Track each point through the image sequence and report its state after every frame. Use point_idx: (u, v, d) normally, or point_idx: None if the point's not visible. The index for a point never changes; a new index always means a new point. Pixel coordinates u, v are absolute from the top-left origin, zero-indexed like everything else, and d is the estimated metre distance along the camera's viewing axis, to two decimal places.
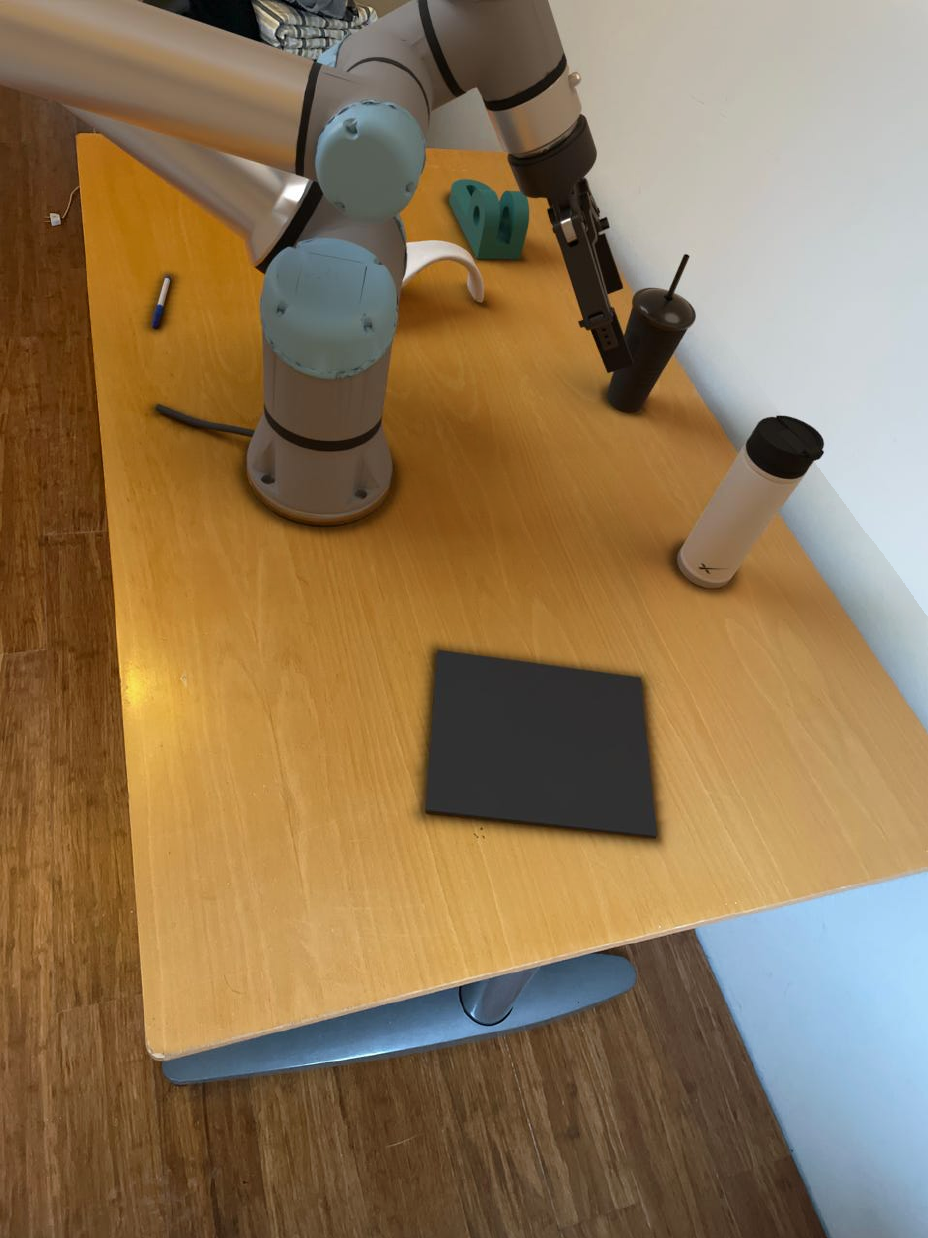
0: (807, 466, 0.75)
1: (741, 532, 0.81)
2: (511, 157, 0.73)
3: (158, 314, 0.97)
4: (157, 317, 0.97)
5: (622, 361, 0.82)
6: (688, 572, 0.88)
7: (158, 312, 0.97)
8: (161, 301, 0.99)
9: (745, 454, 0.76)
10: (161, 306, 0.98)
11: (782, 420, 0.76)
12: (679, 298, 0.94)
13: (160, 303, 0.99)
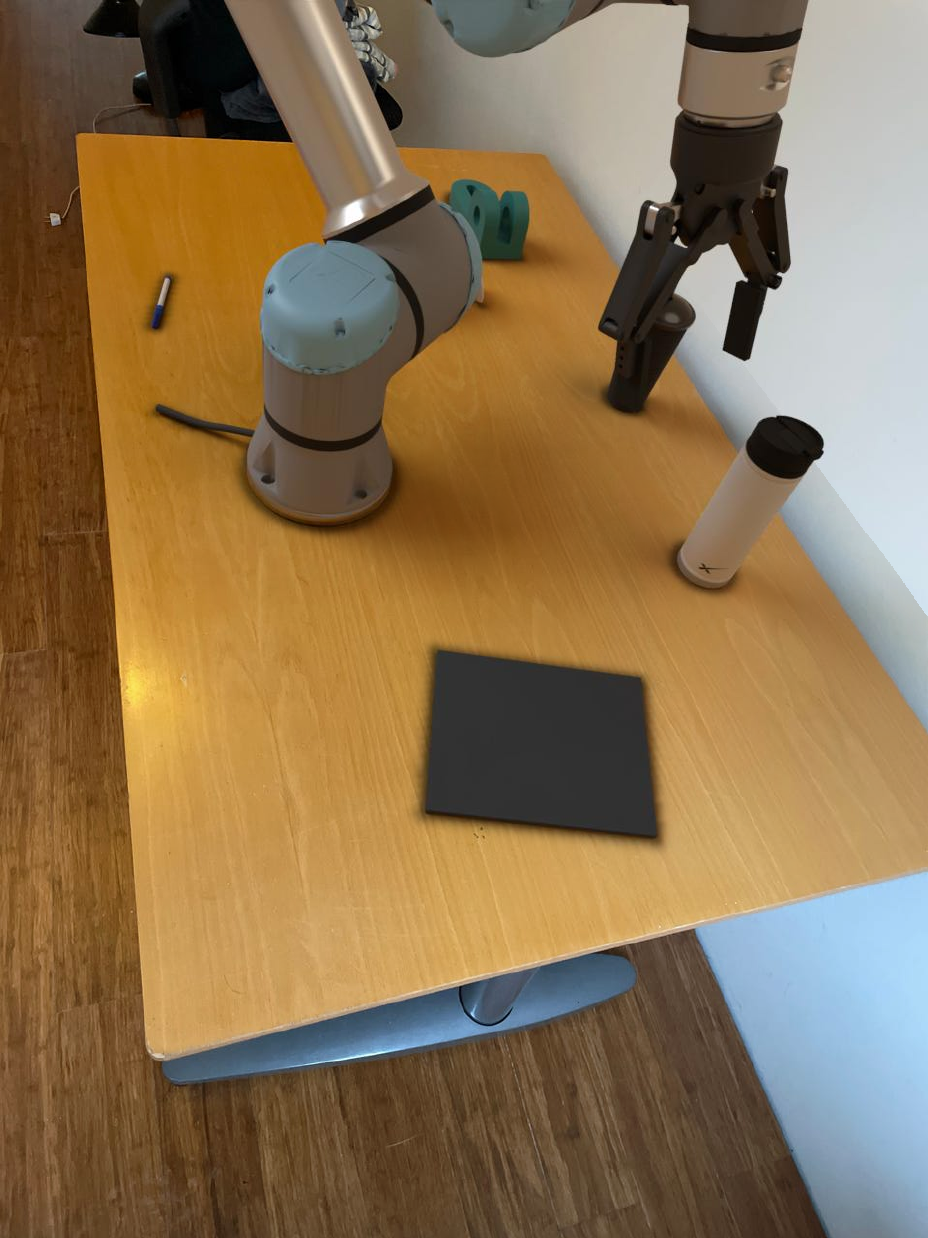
0: (807, 466, 0.75)
1: (741, 532, 0.81)
2: None
3: (158, 314, 0.97)
4: (157, 317, 0.97)
5: (629, 400, 0.70)
6: (688, 571, 0.88)
7: (158, 312, 0.97)
8: (161, 301, 0.99)
9: (745, 454, 0.76)
10: (161, 306, 0.98)
11: (782, 420, 0.76)
12: (679, 298, 0.94)
13: (159, 304, 0.99)
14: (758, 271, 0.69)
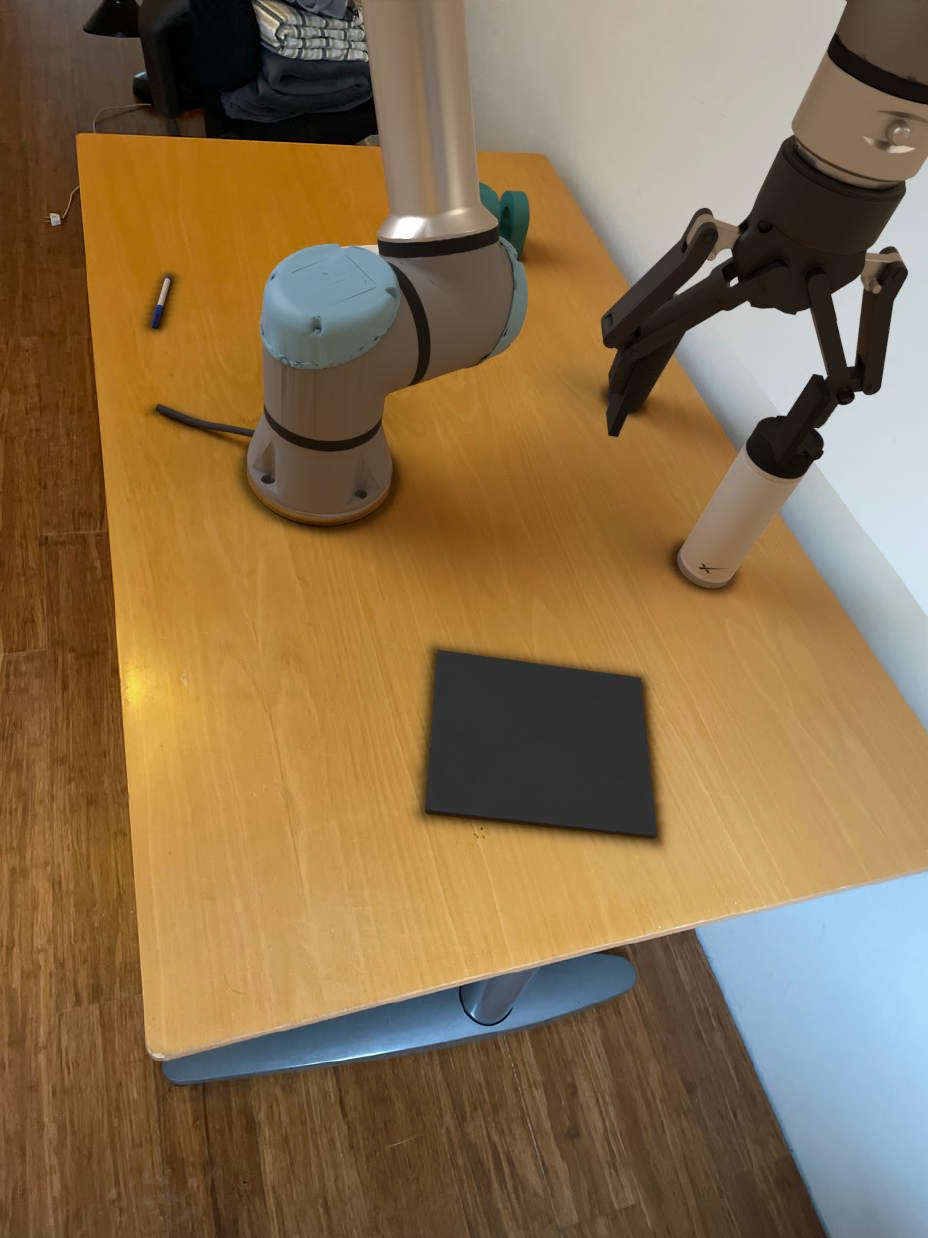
0: (807, 466, 0.75)
1: (741, 532, 0.81)
2: None
3: (158, 314, 0.97)
4: (157, 317, 0.97)
5: (610, 419, 0.61)
6: (688, 571, 0.88)
7: (158, 312, 0.97)
8: (161, 301, 0.99)
9: (745, 454, 0.76)
10: (161, 306, 0.98)
11: (782, 420, 0.76)
12: None
13: (159, 304, 0.99)
14: (828, 372, 0.56)
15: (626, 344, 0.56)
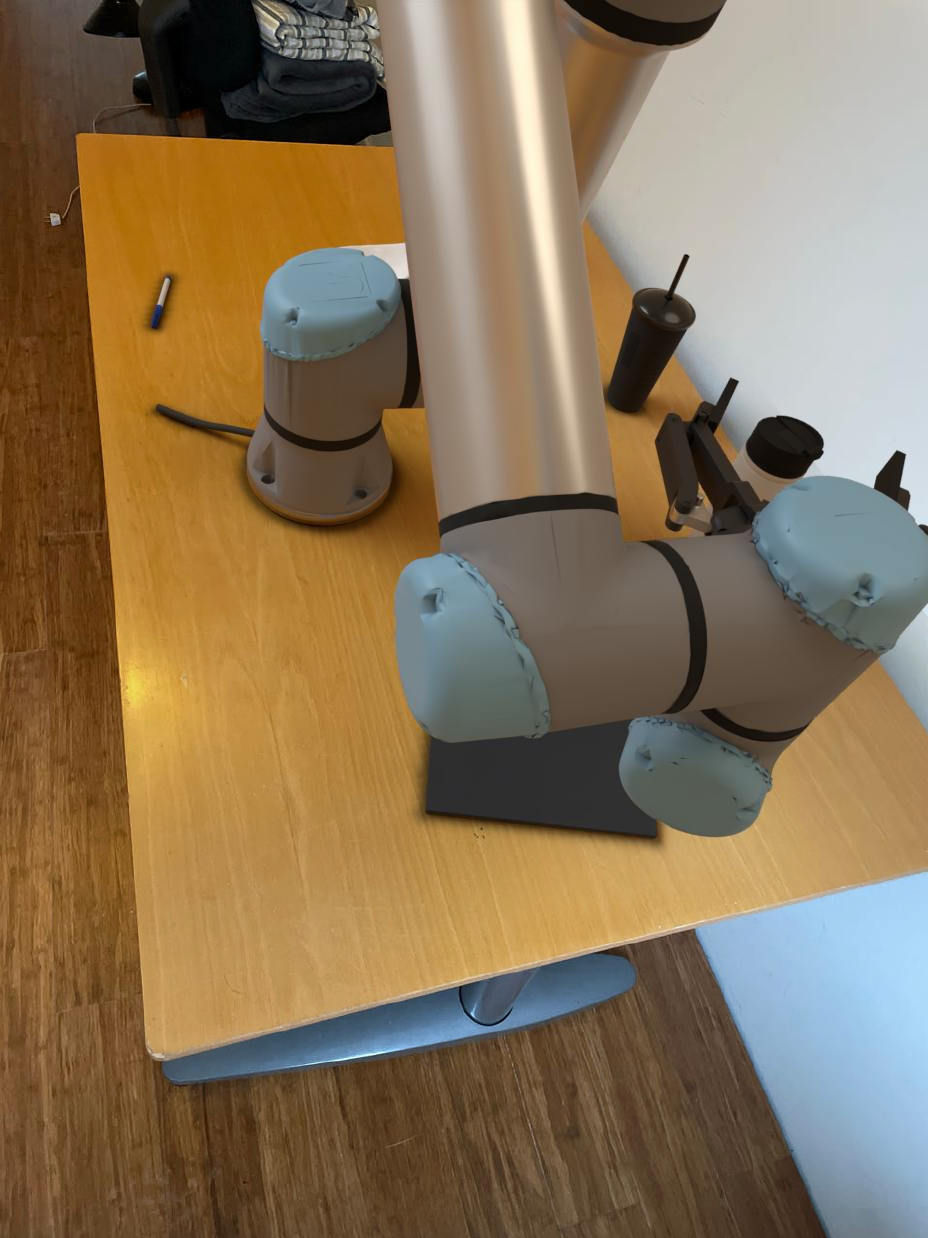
0: (807, 466, 0.75)
1: None
2: None
3: (157, 314, 0.97)
4: (156, 317, 0.97)
5: None
6: None
7: (157, 312, 0.97)
8: (160, 301, 0.99)
9: (745, 454, 0.76)
10: (160, 306, 0.98)
11: (782, 420, 0.76)
12: (679, 298, 0.94)
13: (159, 304, 0.99)
14: None
15: None
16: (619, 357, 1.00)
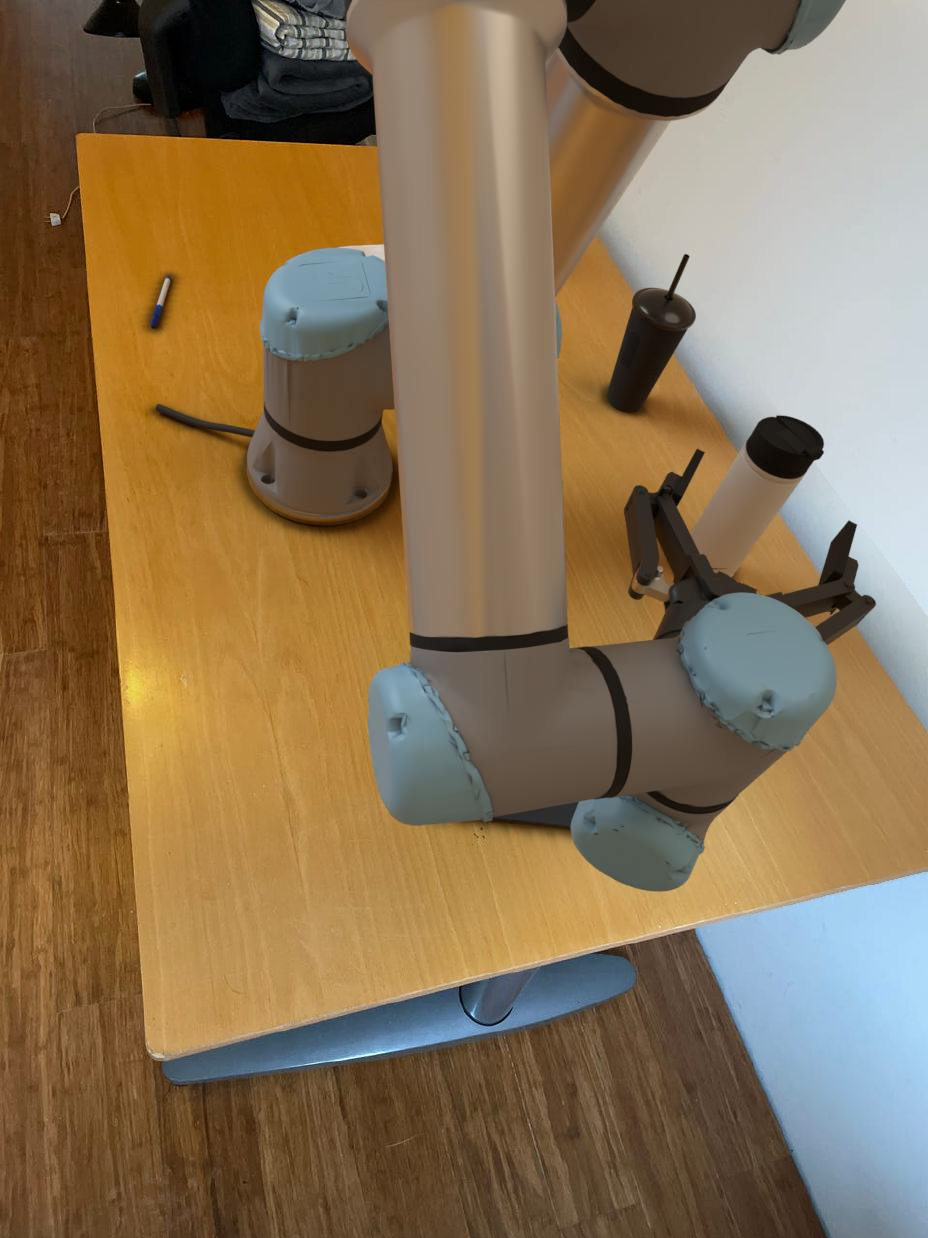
0: (807, 466, 0.75)
1: (741, 532, 0.81)
2: None
3: (157, 314, 0.97)
4: (156, 317, 0.97)
5: None
6: None
7: (157, 312, 0.97)
8: (160, 301, 0.99)
9: (745, 454, 0.76)
10: (160, 306, 0.98)
11: (782, 420, 0.76)
12: (679, 298, 0.94)
13: (159, 304, 0.99)
14: None
15: None
16: (619, 357, 1.00)
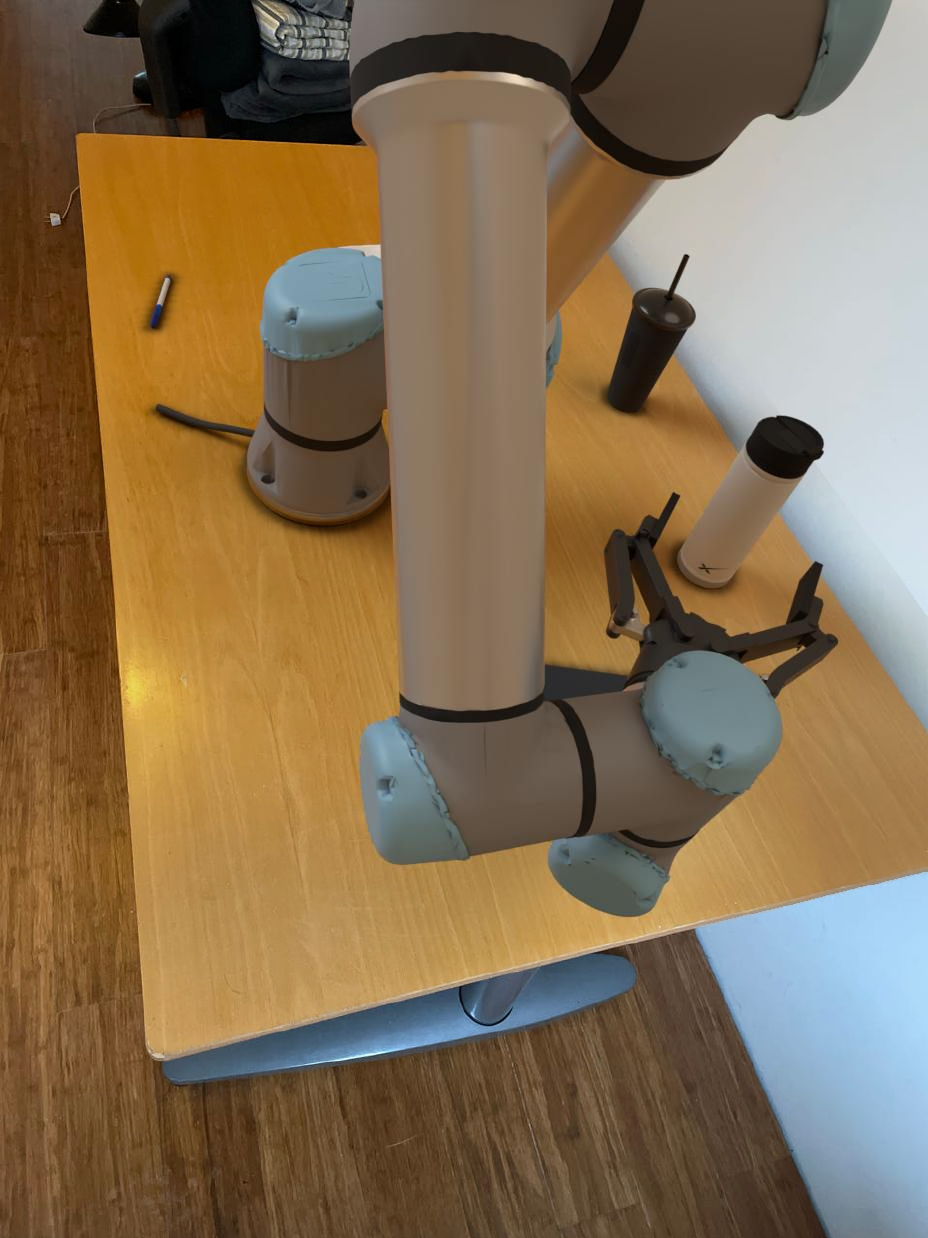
0: (807, 466, 0.75)
1: (741, 532, 0.81)
2: None
3: (157, 314, 0.97)
4: (156, 317, 0.97)
5: None
6: (688, 571, 0.88)
7: (157, 312, 0.97)
8: (160, 301, 0.99)
9: (745, 454, 0.76)
10: (160, 306, 0.98)
11: (782, 420, 0.76)
12: (679, 298, 0.94)
13: (159, 303, 0.98)
14: None
15: None
16: (619, 357, 1.00)
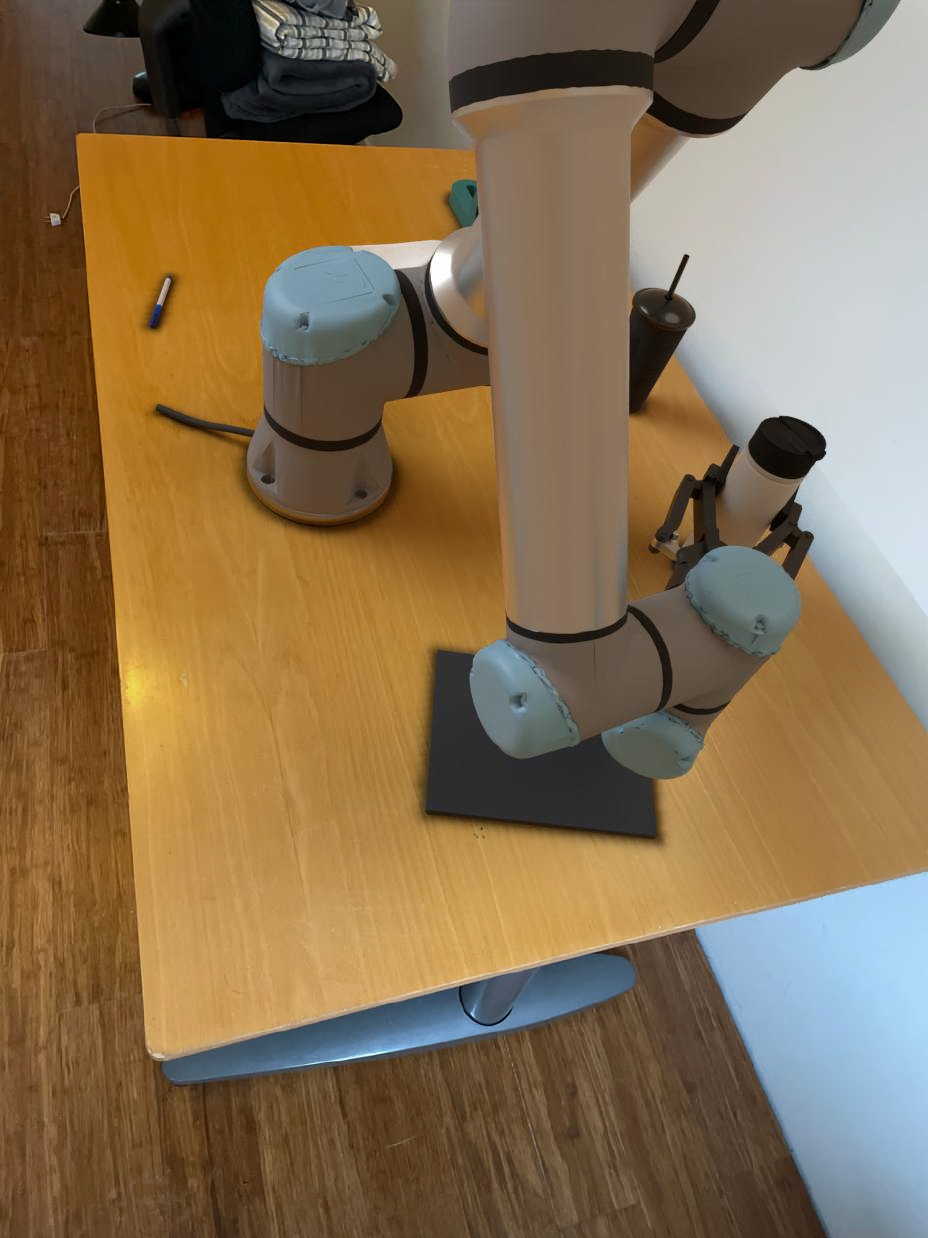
0: (809, 466, 0.75)
1: (742, 532, 0.81)
2: None
3: (156, 314, 0.97)
4: (155, 317, 0.97)
5: None
6: None
7: (156, 312, 0.97)
8: (160, 301, 0.99)
9: (747, 454, 0.76)
10: (160, 306, 0.98)
11: (785, 421, 0.76)
12: (679, 298, 0.94)
13: (159, 303, 0.98)
14: None
15: None
16: None
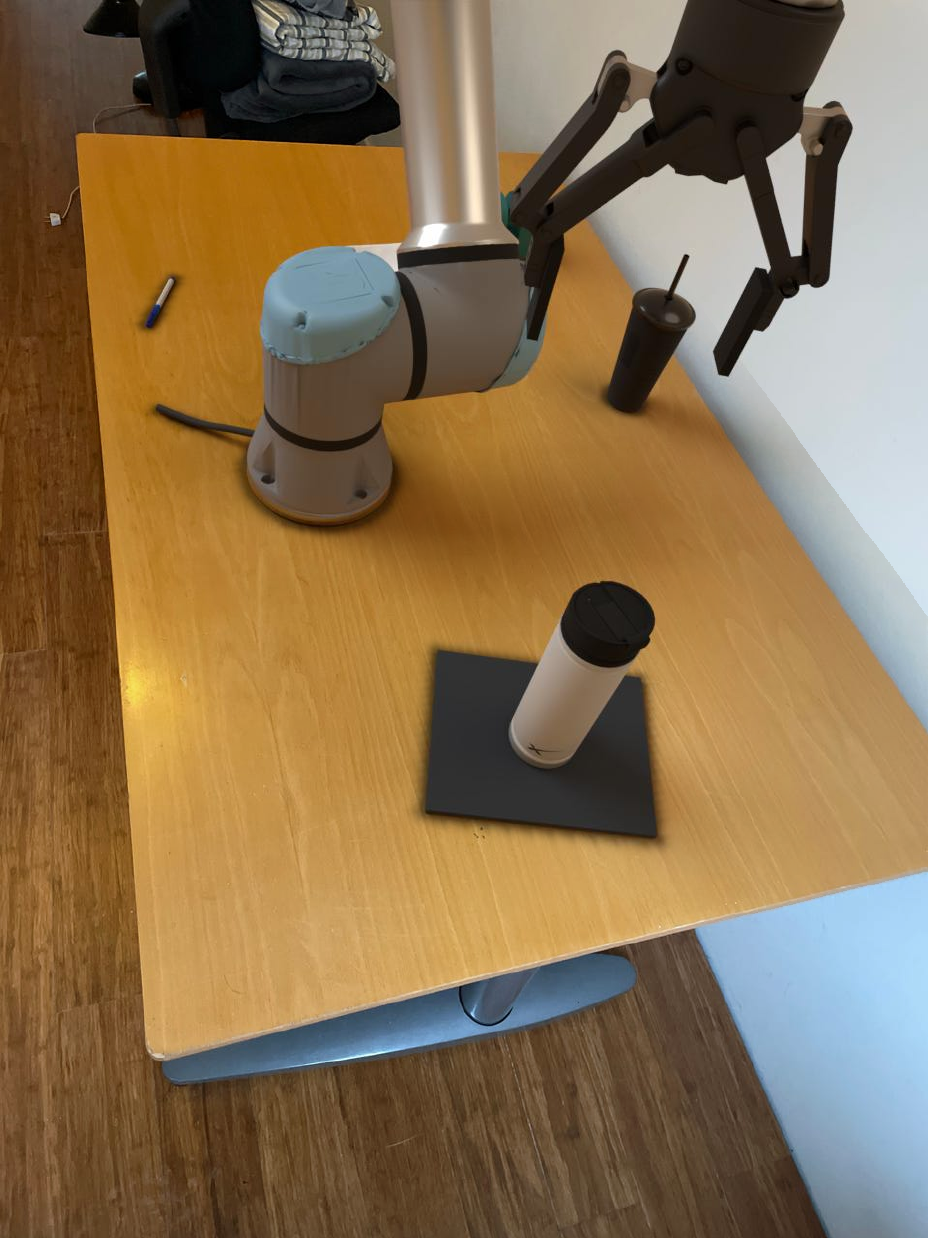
0: (633, 653, 0.57)
1: (567, 718, 0.64)
2: None
3: (153, 314, 0.97)
4: (152, 317, 0.97)
5: (529, 320, 0.54)
6: (518, 749, 0.71)
7: (154, 312, 0.97)
8: (159, 301, 0.99)
9: (559, 631, 0.59)
10: (158, 306, 0.98)
11: (607, 588, 0.59)
12: (679, 298, 0.94)
13: (157, 303, 0.98)
14: (768, 258, 0.50)
15: (538, 223, 0.49)
16: (619, 357, 1.00)
